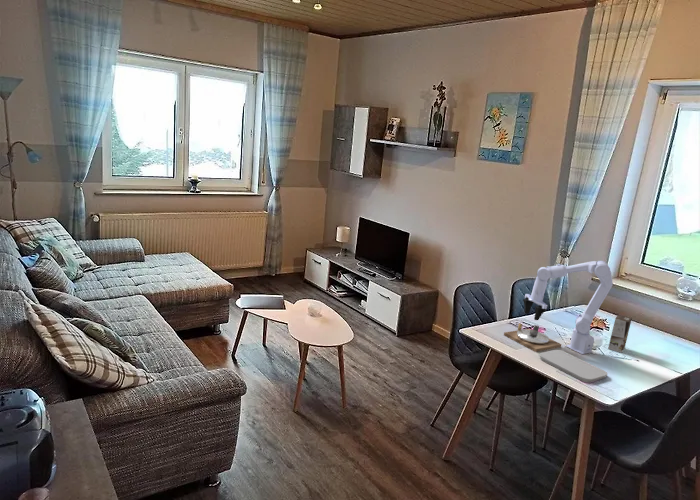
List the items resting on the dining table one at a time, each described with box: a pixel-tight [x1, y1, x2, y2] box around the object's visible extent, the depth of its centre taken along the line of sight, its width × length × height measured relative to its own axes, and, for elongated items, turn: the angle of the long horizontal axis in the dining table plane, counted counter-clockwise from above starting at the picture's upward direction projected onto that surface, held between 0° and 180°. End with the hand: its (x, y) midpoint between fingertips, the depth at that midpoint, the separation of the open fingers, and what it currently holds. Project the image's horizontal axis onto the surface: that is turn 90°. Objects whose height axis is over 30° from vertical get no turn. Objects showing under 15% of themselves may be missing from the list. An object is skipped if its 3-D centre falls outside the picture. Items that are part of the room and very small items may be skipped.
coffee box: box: [607, 314, 633, 353], centre depth 249 cm, size 9×6×16 cm
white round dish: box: [516, 325, 550, 344], centre depth 247 cm, size 15×15×4 cm
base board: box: [503, 323, 562, 353], centre depth 248 cm, size 20×18×6 cm
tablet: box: [538, 349, 608, 383], centre depth 223 cm, size 16×26×2 cm, turn 31°
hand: (531, 316), depth 250 cm, fingers open, 7 cm apart
